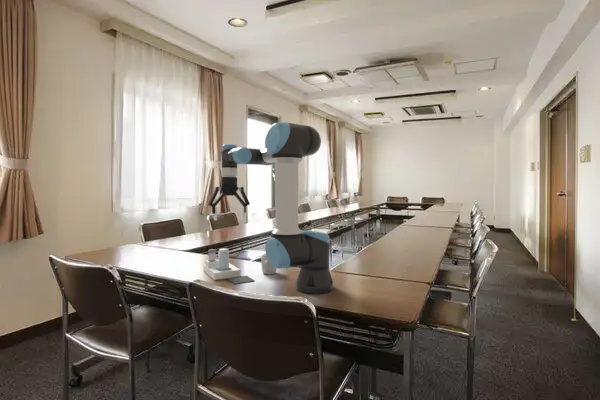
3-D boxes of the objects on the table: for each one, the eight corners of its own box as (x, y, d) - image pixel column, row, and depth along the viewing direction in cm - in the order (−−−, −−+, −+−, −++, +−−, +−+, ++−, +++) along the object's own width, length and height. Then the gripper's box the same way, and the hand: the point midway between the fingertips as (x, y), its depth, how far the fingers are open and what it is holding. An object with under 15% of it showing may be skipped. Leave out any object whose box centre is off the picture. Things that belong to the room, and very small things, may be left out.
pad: (254, 281, 149) (254, 280, 149) (234, 284, 145) (234, 283, 145) (246, 276, 157) (246, 275, 157) (227, 279, 153) (227, 278, 152)
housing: (240, 276, 157) (240, 264, 157) (214, 279, 151) (214, 267, 151) (227, 267, 173) (227, 256, 172) (203, 270, 167) (203, 259, 166)
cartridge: (230, 275, 158) (230, 249, 157) (220, 277, 156) (220, 250, 155) (227, 273, 162) (227, 247, 162) (217, 274, 160) (216, 248, 159)
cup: (273, 277, 156) (273, 259, 155) (256, 276, 157) (256, 258, 157) (279, 271, 166) (279, 255, 166) (263, 270, 168) (263, 254, 168)
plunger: (217, 262, 163) (217, 250, 163) (209, 263, 162) (209, 250, 161) (214, 260, 166) (214, 248, 166) (207, 261, 165) (207, 249, 164)
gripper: (250, 177, 179) (250, 218, 180) (201, 176, 167) (201, 220, 168) (256, 177, 172) (255, 219, 173) (205, 176, 160) (205, 221, 161)
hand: (229, 219), depth 171 cm, fingers open, 13 cm apart
